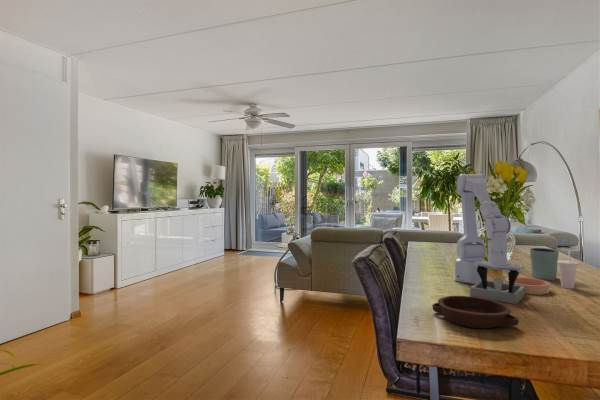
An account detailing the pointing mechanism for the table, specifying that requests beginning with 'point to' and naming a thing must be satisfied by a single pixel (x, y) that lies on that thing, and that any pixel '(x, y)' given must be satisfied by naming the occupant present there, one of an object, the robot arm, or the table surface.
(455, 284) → the table surface
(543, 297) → the table surface
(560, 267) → the smoothie
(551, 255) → the grey green pot
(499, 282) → the pacifier
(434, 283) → the table surface
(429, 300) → the table surface
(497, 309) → the dish
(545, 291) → the bowl
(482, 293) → the gray square frame
